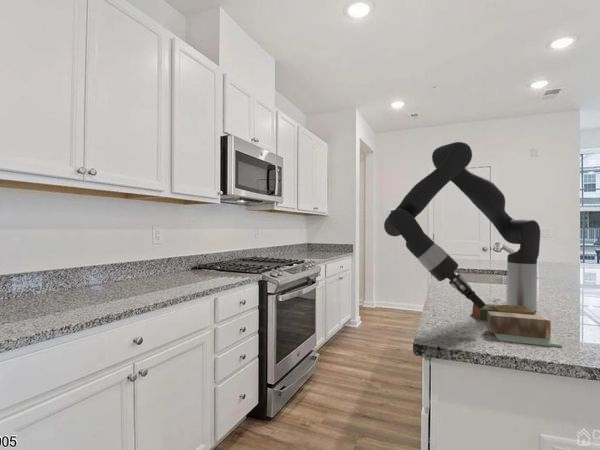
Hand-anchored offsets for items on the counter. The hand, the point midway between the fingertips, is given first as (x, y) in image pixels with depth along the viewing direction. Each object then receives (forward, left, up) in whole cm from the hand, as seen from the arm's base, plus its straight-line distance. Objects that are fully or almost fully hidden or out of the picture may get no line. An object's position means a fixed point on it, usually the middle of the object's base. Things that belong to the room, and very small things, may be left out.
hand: (482, 306), depth 96 cm
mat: (+2, +10, -7) cm, 12 cm away
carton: (-16, +13, -8) cm, 22 cm away
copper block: (0, +2, -4) cm, 5 cm away
